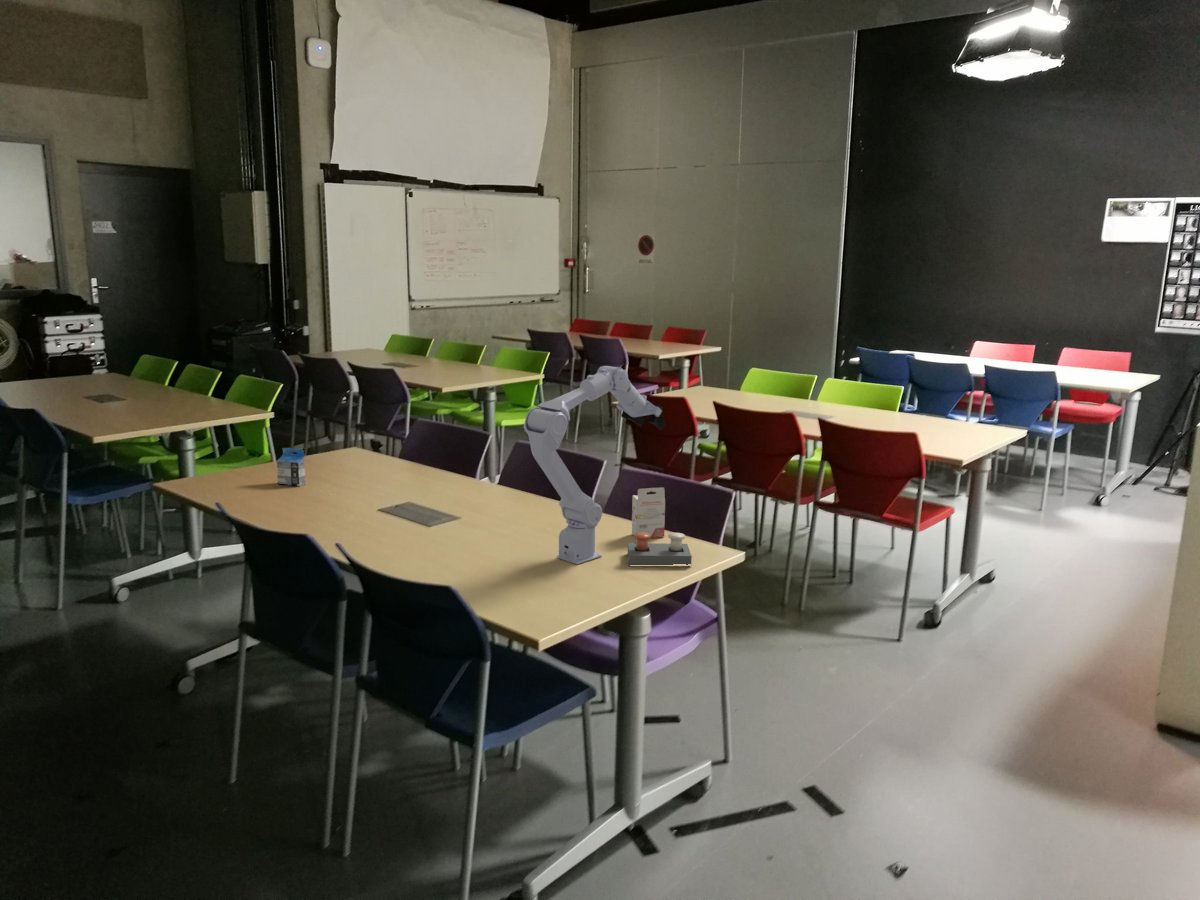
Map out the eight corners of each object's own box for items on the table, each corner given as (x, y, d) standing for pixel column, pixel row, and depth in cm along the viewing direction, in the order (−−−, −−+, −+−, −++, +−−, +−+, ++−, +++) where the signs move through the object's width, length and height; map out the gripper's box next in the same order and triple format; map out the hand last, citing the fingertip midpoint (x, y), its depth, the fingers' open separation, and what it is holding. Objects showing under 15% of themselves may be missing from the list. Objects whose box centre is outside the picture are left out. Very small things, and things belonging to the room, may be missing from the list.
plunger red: (642, 552, 228) (643, 538, 227) (630, 548, 231) (630, 534, 230) (653, 548, 231) (654, 534, 230) (641, 544, 234) (641, 531, 233)
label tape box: (277, 484, 301) (274, 449, 298) (284, 482, 304) (282, 447, 302) (299, 487, 298) (297, 451, 296) (306, 484, 302) (304, 449, 299)
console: (629, 566, 227) (629, 555, 226) (627, 553, 237) (627, 543, 236) (691, 567, 227) (691, 556, 227) (686, 554, 237) (687, 543, 236)
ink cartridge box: (658, 532, 256) (660, 483, 253) (664, 537, 251) (666, 487, 248) (630, 534, 254) (632, 484, 251) (636, 539, 249) (637, 489, 246)
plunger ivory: (677, 552, 228) (677, 538, 227) (664, 548, 231) (664, 535, 230) (687, 549, 231) (688, 535, 231) (674, 545, 234) (675, 531, 234)
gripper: (656, 388, 233) (679, 416, 243) (616, 382, 243) (639, 410, 252) (644, 410, 231) (667, 438, 240) (604, 403, 241) (628, 430, 250)
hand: (652, 425), depth 246 cm, fingers open, 7 cm apart
